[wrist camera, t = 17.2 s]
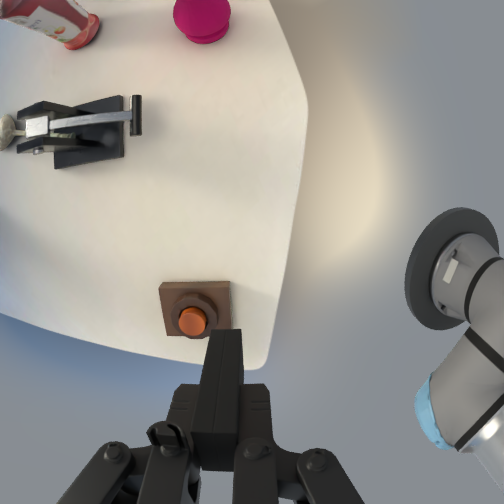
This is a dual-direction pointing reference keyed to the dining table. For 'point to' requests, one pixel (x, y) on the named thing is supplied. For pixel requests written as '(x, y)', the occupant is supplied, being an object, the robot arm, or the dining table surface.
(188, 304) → the button box
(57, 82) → the dining table surface
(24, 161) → the dining table surface
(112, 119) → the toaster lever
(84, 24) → the liquor
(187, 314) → the button
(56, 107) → the lever bracket
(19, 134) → the soupspoon
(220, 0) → the pepper mill
